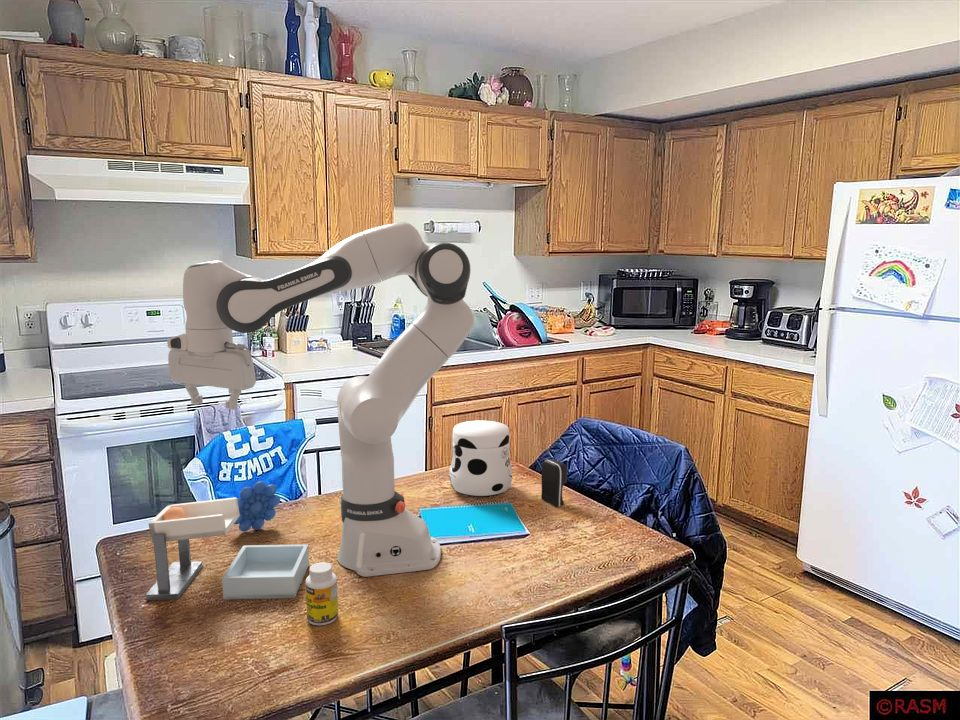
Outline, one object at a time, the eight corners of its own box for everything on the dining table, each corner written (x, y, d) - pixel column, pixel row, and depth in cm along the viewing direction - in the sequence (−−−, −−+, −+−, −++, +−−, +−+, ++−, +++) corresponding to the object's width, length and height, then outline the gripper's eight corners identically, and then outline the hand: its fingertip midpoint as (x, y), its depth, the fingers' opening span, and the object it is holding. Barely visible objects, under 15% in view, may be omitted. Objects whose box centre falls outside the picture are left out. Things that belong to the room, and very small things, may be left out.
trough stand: (202, 566, 141) (198, 508, 138) (178, 599, 128) (172, 536, 125) (173, 567, 140) (168, 509, 138) (146, 600, 128) (140, 537, 125)
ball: (192, 512, 134) (176, 499, 133) (185, 520, 130) (168, 507, 129) (180, 526, 134) (164, 513, 133) (172, 534, 130) (155, 522, 129)
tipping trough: (250, 501, 144) (247, 483, 143) (225, 534, 128) (221, 515, 127) (185, 508, 144) (182, 491, 143) (152, 543, 128) (148, 523, 127)
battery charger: (568, 505, 173) (569, 463, 171) (557, 508, 171) (558, 466, 169) (551, 496, 179) (552, 456, 177) (540, 499, 177) (541, 458, 175)
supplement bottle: (301, 624, 120) (298, 571, 118) (317, 608, 125) (315, 557, 123) (328, 629, 118) (326, 576, 116) (343, 613, 124) (341, 562, 122)
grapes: (277, 518, 165) (274, 472, 163) (284, 528, 159) (281, 480, 157) (227, 528, 159) (224, 480, 157) (233, 539, 153) (230, 490, 151)
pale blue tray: (309, 563, 142) (308, 544, 141) (294, 598, 129) (293, 576, 128) (244, 565, 141) (243, 545, 140) (223, 599, 128) (221, 578, 127)
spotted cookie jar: (524, 490, 184) (526, 427, 180) (481, 508, 171) (482, 441, 168) (479, 474, 195) (479, 415, 192) (436, 490, 183) (435, 428, 180)
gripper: (260, 342, 135) (264, 408, 137) (185, 335, 142) (189, 398, 145) (238, 346, 129) (242, 415, 132) (160, 339, 137) (166, 404, 139)
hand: (214, 406), depth 138 cm, fingers open, 8 cm apart
